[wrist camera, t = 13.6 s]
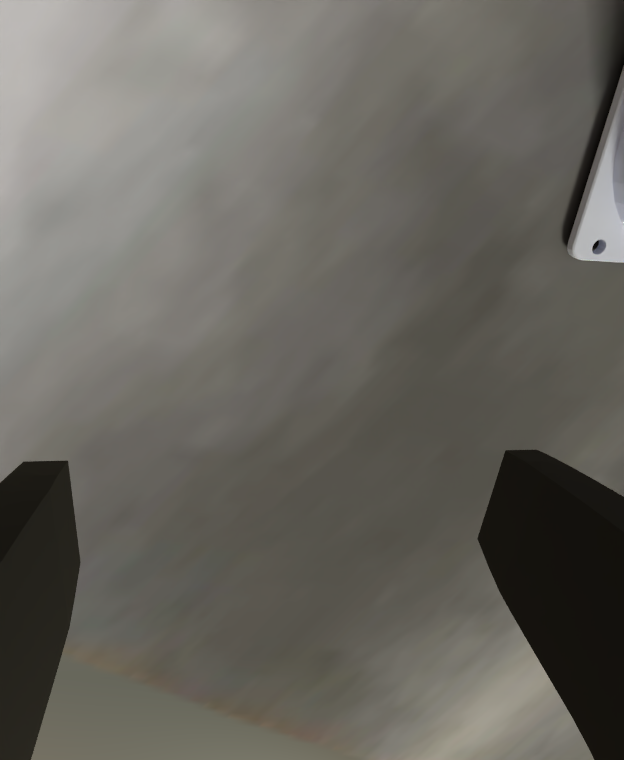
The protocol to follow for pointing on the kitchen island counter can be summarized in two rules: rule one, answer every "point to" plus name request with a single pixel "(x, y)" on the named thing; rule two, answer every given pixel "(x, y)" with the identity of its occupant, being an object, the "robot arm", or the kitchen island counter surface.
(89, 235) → the kitchen island counter surface
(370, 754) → the kitchen island counter surface
